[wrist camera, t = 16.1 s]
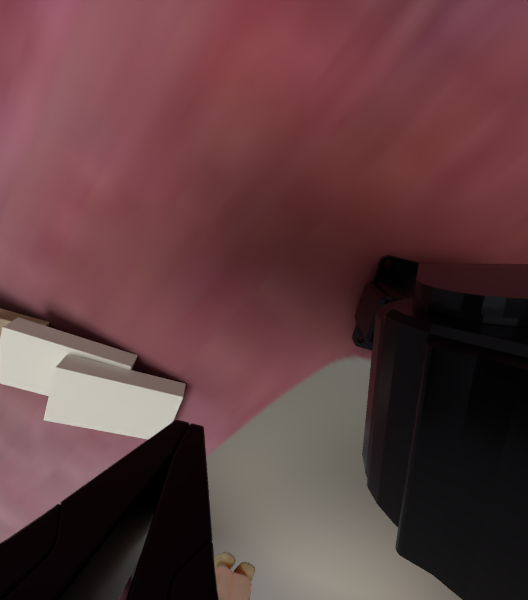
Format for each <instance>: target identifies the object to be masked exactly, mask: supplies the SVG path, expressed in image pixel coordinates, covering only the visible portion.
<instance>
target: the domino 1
mask: <svg viewBox="0 0 528 600" xmlns="http://www.w3.org/2000/svg"><path fill="white" fill-rule="evenodd" d="M18 317H19V318H22V319H25V320H28V321H32V322H35V323H38V324H41V325H44V326H47V327H49V323H50V322H48V321H44V320H41V319H37V318H33V317H30V316H26V315H22V314H19V313H15V312H12V311H8V310H4V309H1V308H0V337H1V332H2V327H3V326H5V325H7V324H8V323H10V322H11V321H13V320H15V319H16V318H18Z"/></svg>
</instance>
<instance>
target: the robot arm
mask: <svg viewBox="0 0 528 600" xmlns="http://www.w3.org/2000/svg"><path fill="white" fill-rule="evenodd" d="M387 260H390V261H391V265H390V266H389V267H385V262H386V261H387ZM355 319H356V322H357V325H356V328H355V331H354V334H353V337H352V339H353V342H354V344H355V345H356V346H358V347H362V348H365V349H369V350H372V359H371V369H370V380H369V390H368V401H367V411H366V421H365V432H364V442H363V452H362V455H363V461H364V468H365V473H366V476H367V486H368V489H369V490H370V492H371V494H372V496H373V497H374V499H375V501H376V503H377V504H378V505H379V507H380V508H381V509H382V510H383V511H384V512H385V513H386V515H387V516H388V517H389V518H390V519H391V520H392V522H393V523H394V524H395V525H396V526H397V527H398V533H397V540H396V550H397V552H398V554H399V555H400V556H402V557H403V558H405V559H407V560H409V561H410V562H412V563H414V564H415V565H417V566H419V567H420V568H422V569H424V570H426V571H427V572H429V573H431V574H432V575H434V576H435V577H436V578H437V579H438V580H440V581H441V582H442V583H443V584H444V585H446V586H447V587H448V588H449V589H450V590H452V591H453V592H454V593H455V594H456V595H458V596H459V597H460V598H461V599H463V600H528V264H421V263H417V262H413V261H409V260H405V259H401V258H397V257H393V256H384V257H382V258H381V260H380V261H379V264H378V267H377V270H376V272H375V275H374V278H373V281H372V282H369V283H367V284H366V286H365V289H364V291H363V294H362V297H361V300H360V303H359V305H358V308H357V311H356V314H355ZM358 337H363V340H362V341H357V338H358ZM140 554H141V555H140ZM139 556H140V559H139V562H138V565H137V568H136V572H135V574H134V577H133V580H132V583H131V587H130V590H129V593H128V596H127V599H126V600H219V597H218V591H217V582H216V573H215V564H214V552H213V543H212V528H211V516H210V502H209V490H208V477H207V463H206V449H205V436H204V427H203V426H200V425H196V424H190V425H189V423H188V422H184V421H180V420H175V421H173V422H172V423H171V424H169V425H168V426H166V427H165V428H164V429H162V430H161V431H159V432H158V433H157V434H155V435H154V436H152V437H151V438H150V439H148V440H147V441H145V442H144V443H143V444H141V445H140V446H138V447H137V448H136V449H134V450H133V451H131V452H130V453H129V454H127V455H126V456H124V457H123V458H122V459H120V460H119V461H117V462H116V463H115V464H113V465H112V466H110V467H109V468H108V469H106V470H105V471H103V472H102V473H101V474H99V475H98V476H96V477H95V478H94V479H92V480H91V481H89V482H88V483H87V484H85V485H84V486H82V487H81V488H80V489H78V490H77V491H75V492H74V493H73V494H71V495H70V496H68V497H67V498H66V499H64V500H63V501H62V502H61V505H60V504H57V505H56V506H54V507H53V508H51V509H50V510H49V511H47V512H46V513H44V514H43V515H42V516H40V517H39V518H37V519H36V520H34V521H33V522H32V523H30V524H29V525H27V526H26V527H24V528H23V529H21V530H20V531H18V532H17V533H15V534H14V535H13V536H11V537H10V538H8V539H6V540H5V541H3V542H2V543H0V600H118V599H119V597H120V595H121V593H122V591H123V589H124V587H125V585H126V583H127V581H128V579H129V577H130V575H131V573H132V571H133V569H134V567H135V565H136V563H137V560H138V558H139Z"/></svg>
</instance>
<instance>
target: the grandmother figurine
mask: <svg viewBox="0 0 528 600" xmlns="http://www.w3.org/2000/svg"><path fill="white" fill-rule="evenodd" d="M234 563H235V557H234V556H233V555H231V554H230V553H227V552H224V553H221V554H219V555H217V556H215V557H214V564H215V573H216V582H217V591H218V597H219V600H250V593H251V581H252V578H253V575H254V572H255V567H254V566H253V565H252V564H250V563H247V562H242V563H241V564H240V565H239V566H238V567H237V568H236V569H235V570H234V572H232V571H231V570H230V568H231V567H232V566H233V565H234Z"/></svg>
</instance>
